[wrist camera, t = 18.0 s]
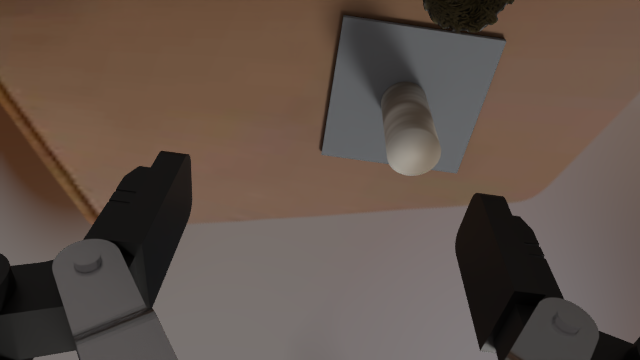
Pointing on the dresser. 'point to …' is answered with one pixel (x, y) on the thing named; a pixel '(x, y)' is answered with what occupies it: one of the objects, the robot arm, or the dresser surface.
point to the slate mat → (407, 66)
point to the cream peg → (409, 130)
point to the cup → (464, 13)
